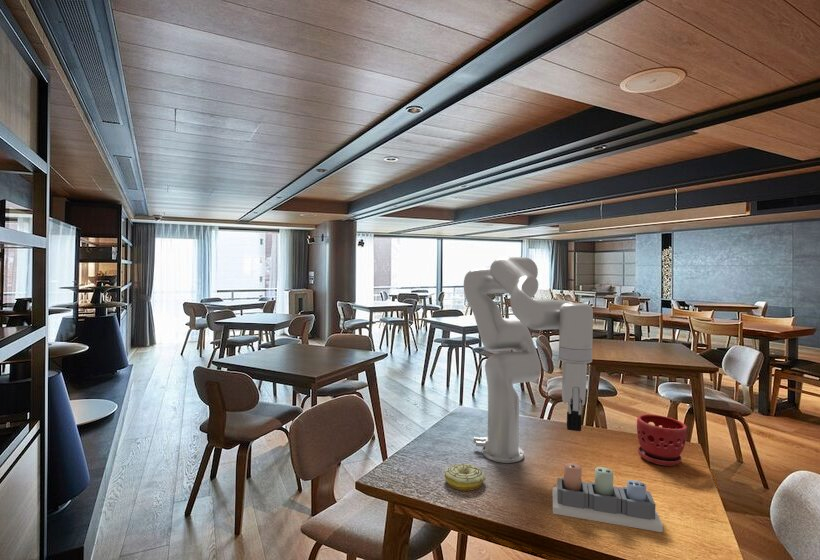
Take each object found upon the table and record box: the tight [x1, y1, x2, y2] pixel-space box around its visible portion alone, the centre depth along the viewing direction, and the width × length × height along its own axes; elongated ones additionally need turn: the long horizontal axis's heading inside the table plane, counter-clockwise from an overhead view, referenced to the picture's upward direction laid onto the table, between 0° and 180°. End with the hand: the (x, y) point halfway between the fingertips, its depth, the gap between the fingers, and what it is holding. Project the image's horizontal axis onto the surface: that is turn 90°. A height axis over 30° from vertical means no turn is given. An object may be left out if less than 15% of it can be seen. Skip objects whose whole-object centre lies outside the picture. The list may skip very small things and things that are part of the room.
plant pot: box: [636, 414, 688, 466], centre depth 131 cm, size 13×13×12 cm
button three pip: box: [626, 479, 647, 502], centre depth 101 cm, size 4×4×5 cm
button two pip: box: [594, 466, 614, 496], centre depth 103 cm, size 4×4×5 cm
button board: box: [552, 477, 664, 533], centre depth 103 cm, size 23×10×5 cm, turn 72°
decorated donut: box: [444, 463, 486, 492], centre depth 116 cm, size 10×11×4 cm
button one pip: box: [563, 462, 583, 491], centre depth 105 cm, size 4×4×5 cm
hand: (573, 429), depth 105 cm, fingers closed
